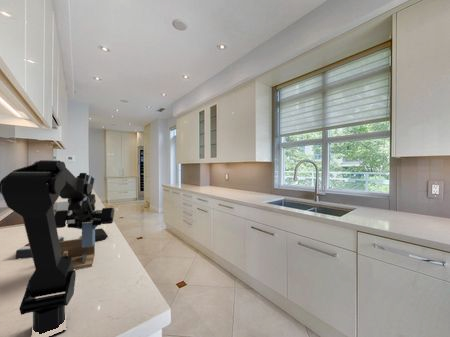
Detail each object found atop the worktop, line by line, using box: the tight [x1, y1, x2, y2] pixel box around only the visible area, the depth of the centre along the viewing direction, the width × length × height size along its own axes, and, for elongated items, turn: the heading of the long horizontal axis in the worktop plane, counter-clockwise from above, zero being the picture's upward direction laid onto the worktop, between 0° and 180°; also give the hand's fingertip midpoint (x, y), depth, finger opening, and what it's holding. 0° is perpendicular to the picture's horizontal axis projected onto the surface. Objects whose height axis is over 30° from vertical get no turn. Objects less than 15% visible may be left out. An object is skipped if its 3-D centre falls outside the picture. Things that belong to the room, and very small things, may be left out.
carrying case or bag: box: [95, 228, 109, 243], centre depth 105 cm, size 11×3×15 cm
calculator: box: [15, 236, 65, 260], centre depth 89 cm, size 11×4×15 cm
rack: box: [59, 237, 96, 270], centre depth 77 cm, size 11×14×8 cm
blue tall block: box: [81, 220, 96, 248], centre depth 78 cm, size 4×4×12 cm
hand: (89, 227), depth 80 cm, fingers closed on blue tall block, 3 cm apart
